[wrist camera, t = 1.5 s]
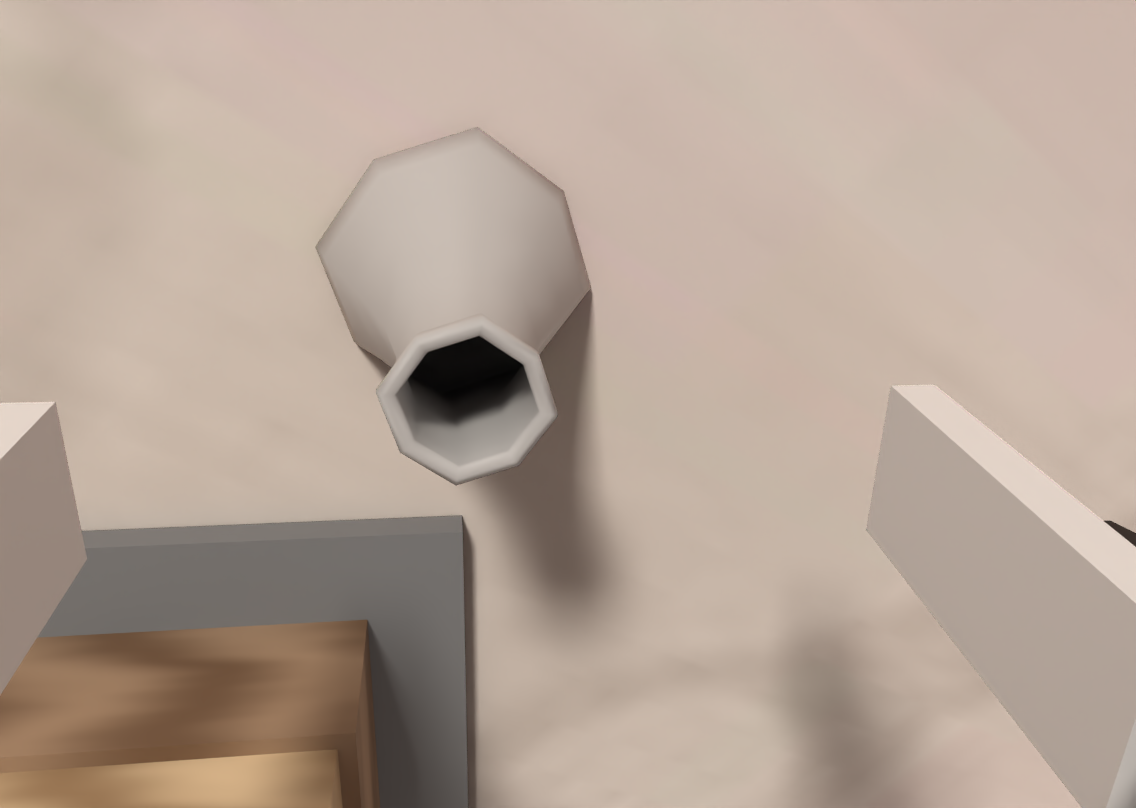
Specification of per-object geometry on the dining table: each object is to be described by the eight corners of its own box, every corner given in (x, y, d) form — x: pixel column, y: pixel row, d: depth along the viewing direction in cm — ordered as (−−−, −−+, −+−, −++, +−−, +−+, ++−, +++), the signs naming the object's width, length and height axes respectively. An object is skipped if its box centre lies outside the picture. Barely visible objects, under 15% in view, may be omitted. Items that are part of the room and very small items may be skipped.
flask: (632, 291, 28) (729, 437, 19) (432, 429, 29) (432, 633, 20) (484, 75, 25) (514, 123, 16) (267, 237, 26) (178, 370, 17)
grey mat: (19, 925, 34) (7, 950, 33) (-91, 538, 28) (-109, 556, 27) (469, 884, 36) (470, 907, 35) (461, 515, 30) (462, 531, 29)
